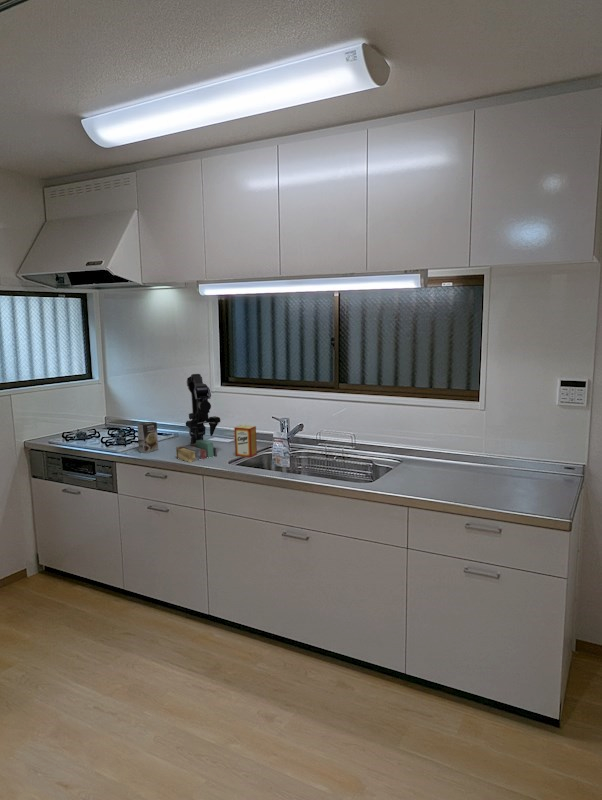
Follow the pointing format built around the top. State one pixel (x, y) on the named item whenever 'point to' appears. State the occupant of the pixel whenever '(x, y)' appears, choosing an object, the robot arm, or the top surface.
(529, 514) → the top surface
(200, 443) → the green book
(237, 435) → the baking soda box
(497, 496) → the top surface
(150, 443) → the coffee box
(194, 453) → the book rack
